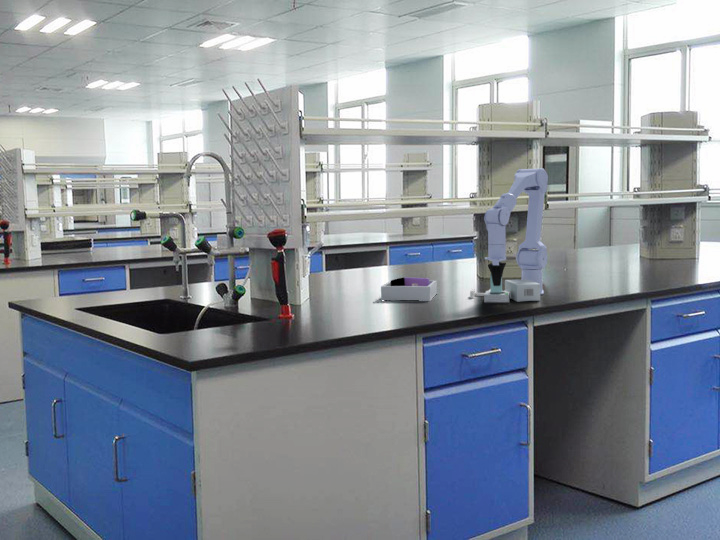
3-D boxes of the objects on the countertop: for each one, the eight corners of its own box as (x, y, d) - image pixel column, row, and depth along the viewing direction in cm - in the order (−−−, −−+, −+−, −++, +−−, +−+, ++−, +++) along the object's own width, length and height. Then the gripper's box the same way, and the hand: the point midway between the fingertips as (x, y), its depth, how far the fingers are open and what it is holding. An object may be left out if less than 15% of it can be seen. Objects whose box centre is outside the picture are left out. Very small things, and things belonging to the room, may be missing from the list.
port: (486, 298, 261) (486, 289, 260) (510, 298, 259) (510, 289, 259) (484, 303, 251) (484, 293, 251) (508, 303, 249) (508, 293, 249)
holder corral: (390, 294, 279) (390, 280, 279) (436, 294, 275) (436, 280, 275) (381, 300, 263) (380, 286, 262) (430, 301, 259) (429, 286, 258)
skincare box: (540, 301, 252) (527, 295, 267) (540, 282, 252) (527, 278, 267) (515, 301, 252) (504, 296, 267) (515, 283, 251) (504, 279, 266)
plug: (491, 291, 257) (490, 270, 256) (502, 291, 256) (501, 270, 255) (490, 292, 253) (490, 271, 253) (501, 292, 253) (501, 271, 252)
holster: (472, 295, 269) (471, 288, 269) (492, 295, 267) (492, 288, 267) (470, 298, 263) (470, 291, 263) (491, 298, 261) (491, 291, 261)
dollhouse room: (402, 295, 277) (402, 276, 276) (432, 296, 271) (432, 277, 270) (386, 299, 267) (386, 280, 266) (416, 301, 261) (416, 281, 260)
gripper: (486, 242, 261) (486, 282, 262) (483, 246, 247) (483, 287, 248) (507, 242, 259) (507, 282, 261) (505, 245, 245) (505, 287, 247)
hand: (497, 284), depth 254 cm, fingers closed on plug, 4 cm apart
